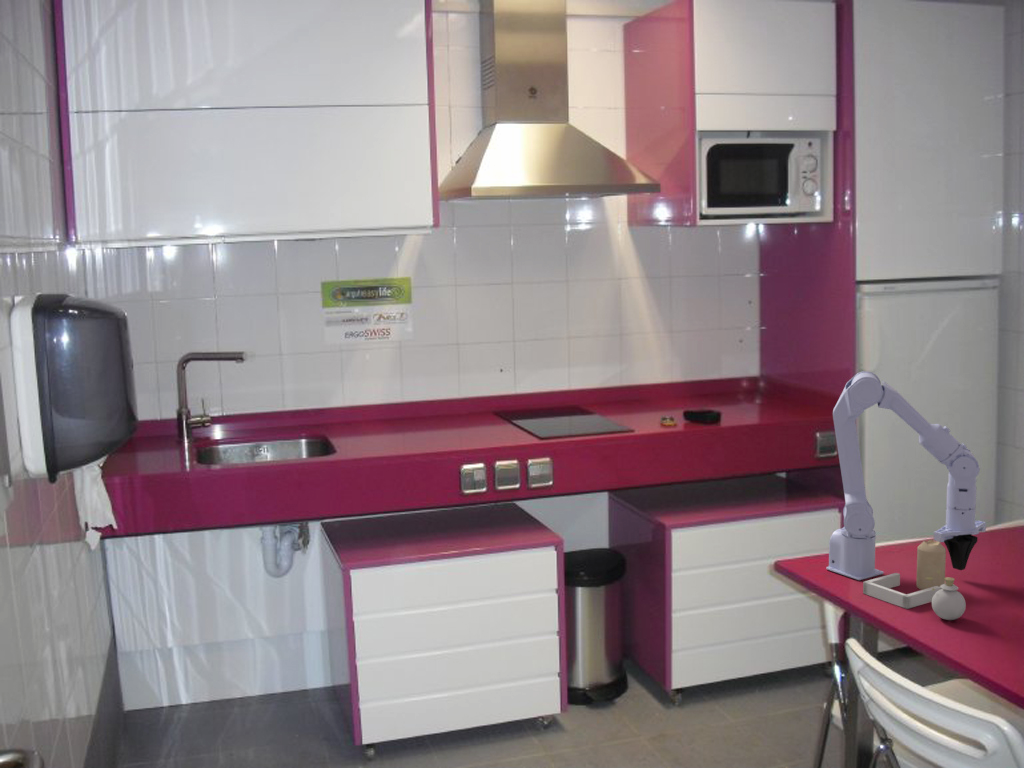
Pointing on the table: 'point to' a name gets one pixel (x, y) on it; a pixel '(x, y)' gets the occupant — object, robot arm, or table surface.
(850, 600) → the table surface
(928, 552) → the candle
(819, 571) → the table surface
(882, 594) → the box
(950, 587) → the round potion bottle
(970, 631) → the table surface
